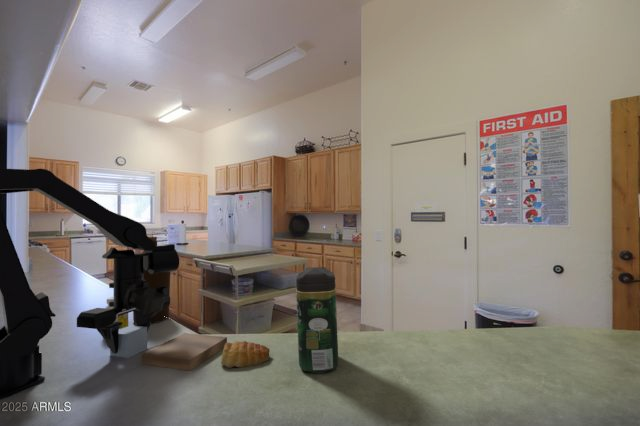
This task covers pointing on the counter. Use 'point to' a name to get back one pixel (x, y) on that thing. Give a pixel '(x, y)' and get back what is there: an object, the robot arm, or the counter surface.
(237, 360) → the pastry
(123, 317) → the supplement bottle
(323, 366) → the coffee jar
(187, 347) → the base slab
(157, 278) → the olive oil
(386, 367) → the counter surface
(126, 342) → the block
